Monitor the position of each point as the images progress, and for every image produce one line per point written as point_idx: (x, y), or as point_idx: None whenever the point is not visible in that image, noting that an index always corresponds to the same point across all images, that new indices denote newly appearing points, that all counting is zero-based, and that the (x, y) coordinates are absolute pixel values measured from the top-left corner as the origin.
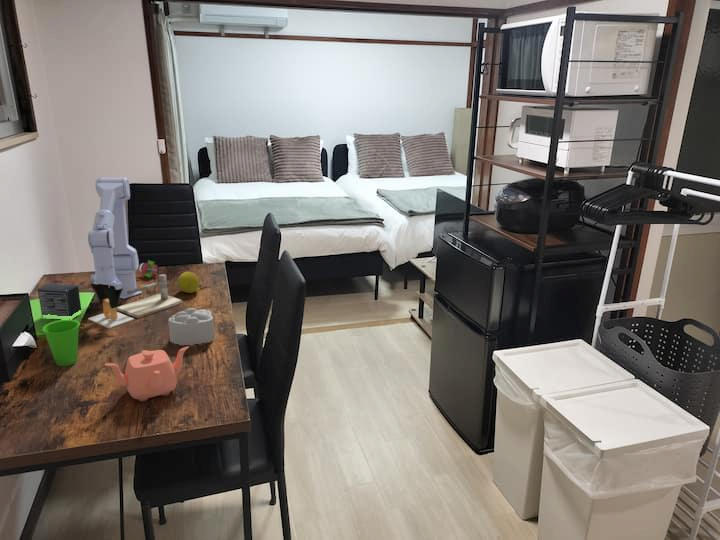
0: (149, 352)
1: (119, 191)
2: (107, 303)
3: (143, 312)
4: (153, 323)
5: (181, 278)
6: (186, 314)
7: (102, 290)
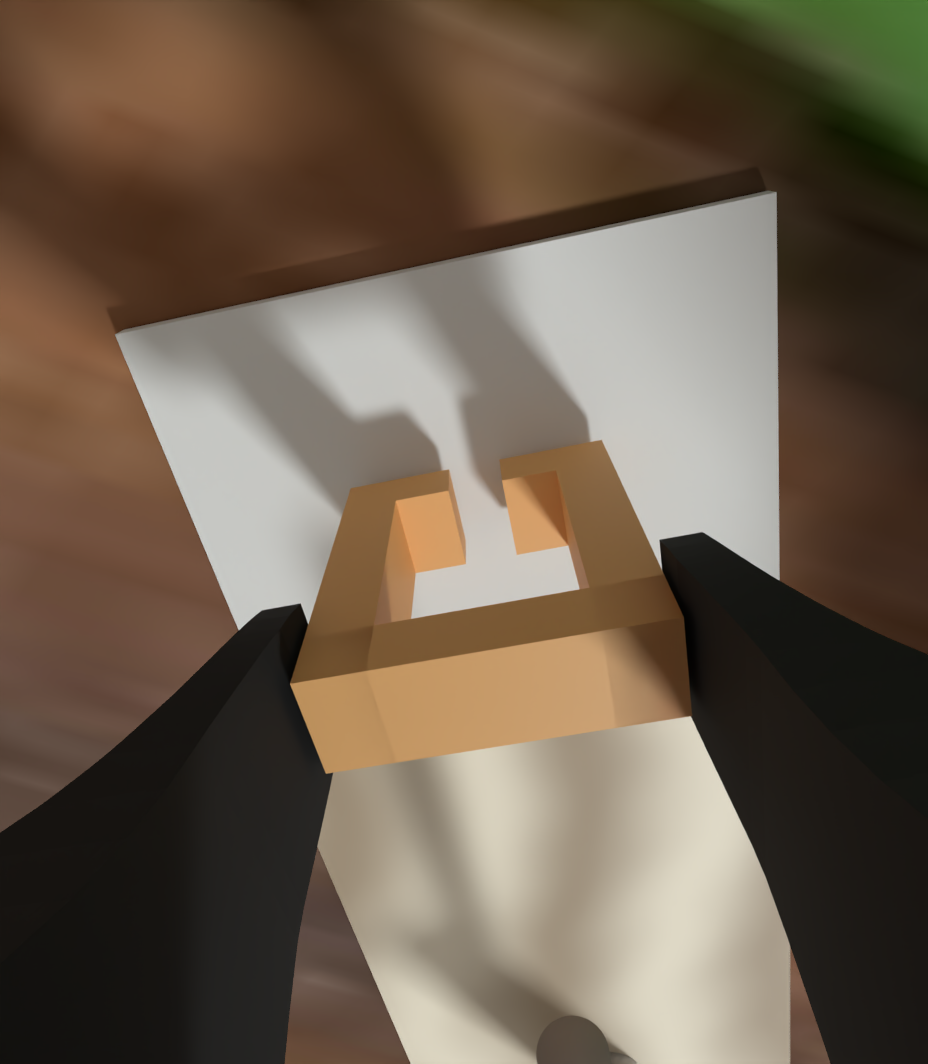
0: None
1: None
2: (448, 626)
3: (350, 840)
4: (33, 797)
5: None
6: None
7: (806, 856)
